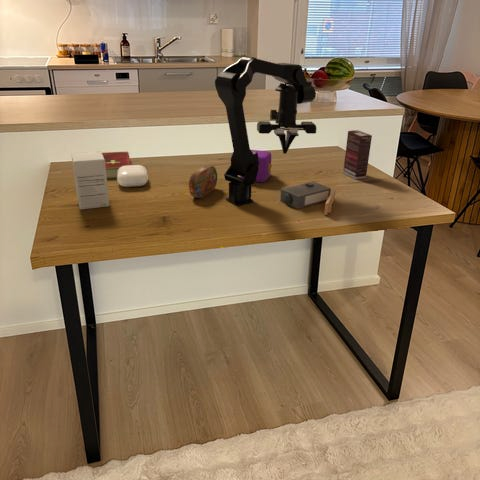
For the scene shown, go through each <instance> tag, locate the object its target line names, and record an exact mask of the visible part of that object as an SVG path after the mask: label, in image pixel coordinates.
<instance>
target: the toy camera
mask: <svg viewBox="0 0 480 480" xmlns="http://www.w3.org/2000/svg"><path fill="white" fill-rule="evenodd" d="M250 150H251V151H253V152H257V154H258V161H259V163H260V165H258V166H259V170H258V173H257V177H256V180H255V183H265V182H266V181H267V180H268V178H269V177H270V176H271V173H272V171H271V170H272V168H273V167H272V166H273V165H272V152H270V151H266V150H260V149H259V150H258V149H250ZM240 177H241V178H244V177H242V176H240Z"/></svg>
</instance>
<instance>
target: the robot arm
mask: <svg viewBox="0 0 480 480" xmlns="http://www.w3.org/2000/svg"><path fill="white" fill-rule="evenodd" d="M256 73H257V74H261V75H265V76H271V77H272V78H274V80H277V81H279V82H280V83H279V85H278V86H277V87H276V88H275V90H274V91H276V92H279V99H278V101H279V102H278V109H270V111H269V112H270V113H269V120H270V121H275V124H274V123H271V122H270V121H268V120H267V121H265V120H262V121H258V122H257V124H256V130H257V132H258V133H259V134H264V135H265V134H270V133H271V132H273V133H274V135H275V136H276V137H278V139H279V142H280V146H281V150H282V152H283V154H287V152H288V151H289V149H290V146H291V145H292V143H293V141H294V140H295V139H296V137H299V133H298V132H299V131H304V132H305V133H306V134H310V135H311V134H313V135H314V134H316V133H317V125H316V124H315V123H314V122H313V121H301V122H300V124H298V123H297V114H298V105H301V104H308V103H312V102H314V101H315V99H316V96H317V92H316V88H315V87H314V86H313V85H312V84H313V81H310V80H307V78H306V75H305V73H304V71H303V66H302V65H300V64H295V63H287V62H278V63H275V62H273V61H272V62H271V61H267V60H264V59H260V58H256V57H255V56H246V55H245V56H242V57H240V58H239V59H238V60H237V61H236V62H234V63H232V64H231V65H229V66H227V67H226V68H225V69H224V70H223V71H221V72H219V73H218V75H216V78H215V79H214V87H215V89H216V93H217V96H218V97H219V99H220V100H221V102H222V103H223V105H224V106H225V107H224V108H225V110H226V117H227V122H228V128H229V132H230V137H231V144H232V150H233V152H232V154H231V157H230V165H229V167H228V168H227V170H226V171H225V172H224V175H223V176H224V180H225V181H227V182H228V197H225V200H226V201H227V202H230V203H231V204H233V205H235V206H242V205H245V204H249V203H253V202H254V199H252V187H253V185H255V183H256V182H255V180H256V177H257V173H258V170H259V166H258V165H260V163H259V161H258V154H257V152H253V151H251V150H252V149H251V147H250V142H249V136H248V129H247V123H246V119H245V117H246V116H245V112H244V111H245V110H244V105H243V103H244V100H245V98H246V96H247V87H248V86H249V85H250V84H251V82H252V80H253V77H254V74H256ZM285 132H286V133H285ZM241 176H242V177H244V178H241Z"/></svg>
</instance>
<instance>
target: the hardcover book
mask: <svg viewBox="0 0 480 480" xmlns="http://www.w3.org/2000/svg"><path fill="white" fill-rule="evenodd" d="M101 153H102V155H103V157H104V159H105V167H106V176H107V179H110V178H117V171H118V169H119V168H120V167H122V166H126V165H131V160H130V154H129V153H130V152H129V151H110V152H109V151H107V152H105V151H104V152H101Z"/></svg>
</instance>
